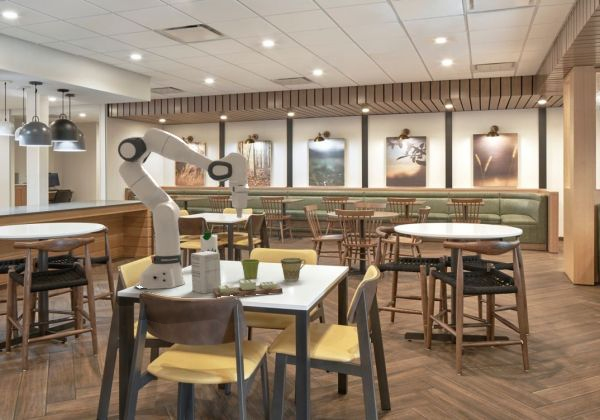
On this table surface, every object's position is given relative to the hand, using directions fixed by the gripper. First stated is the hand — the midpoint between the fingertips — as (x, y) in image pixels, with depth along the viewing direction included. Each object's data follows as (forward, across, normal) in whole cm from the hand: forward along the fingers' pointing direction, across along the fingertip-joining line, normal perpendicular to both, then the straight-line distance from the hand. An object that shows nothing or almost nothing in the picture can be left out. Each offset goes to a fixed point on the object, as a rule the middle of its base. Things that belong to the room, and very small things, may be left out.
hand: (239, 217), depth 232 cm
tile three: (+31, +20, +8) cm, 37 cm away
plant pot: (+31, -12, +7) cm, 34 cm away
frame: (+31, +20, -1) cm, 37 cm away
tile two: (+29, +20, -1) cm, 35 cm away
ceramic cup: (+31, 0, +26) cm, 41 cm away
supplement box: (+31, +8, -17) cm, 36 cm away
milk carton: (+31, -52, -8) cm, 61 cm away
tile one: (+30, +20, -10) cm, 38 cm away
